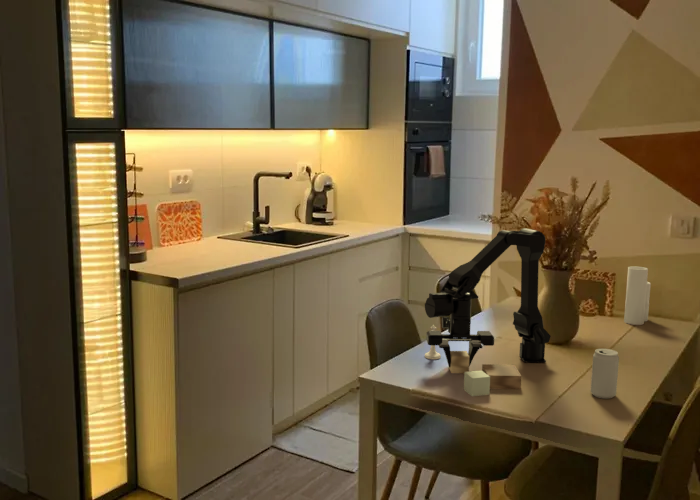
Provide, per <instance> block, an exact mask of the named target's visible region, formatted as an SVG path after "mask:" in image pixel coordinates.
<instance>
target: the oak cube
mask: <svg viewBox="0 0 700 500" xmlns="http://www.w3.org/2000/svg"><path fill="white" fill-rule="evenodd" d="M450 357H451V366H450V367H449V366H448V369H449V372H450V373H451V374H464V372H470V366H469V355H468V351H467V350H450Z"/></svg>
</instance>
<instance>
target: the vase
mask: <svg viewBox="0 0 700 500" xmlns="http://www.w3.org/2000/svg"><path fill="white" fill-rule="evenodd" d="M648 273H649V268H648V267H643V266H635V265H633V266H627V279H626V291H625V303H624V304H625V305H624V314H623V315H624V318H623V322H624V323H625V324H629V325H634V326H641V325H644V323H645V322H648V321H649V309H650V308H649V307H650V298H651V297H650V296H651V285H652V284H651V282H649V281H648V276H649V275H648Z"/></svg>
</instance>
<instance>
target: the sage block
mask: <svg viewBox="0 0 700 500" xmlns="http://www.w3.org/2000/svg"><path fill="white" fill-rule="evenodd" d="M463 375H464V376H463V378H464V379H463V390H464V391H465V392H466V393H467V394H468V395H469V396H471V397H478V396H479V397H480V396H489V395H490V376H489V375H487V374H486V373H484V372H483V371H482V369H481V370H473V371H470V370H469V372H464V373H463Z"/></svg>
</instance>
